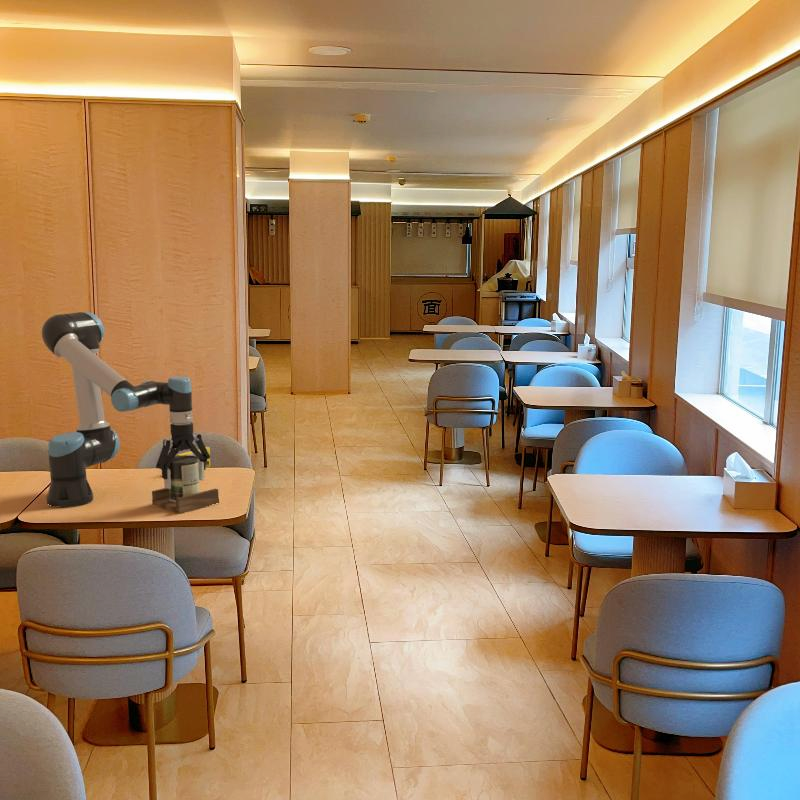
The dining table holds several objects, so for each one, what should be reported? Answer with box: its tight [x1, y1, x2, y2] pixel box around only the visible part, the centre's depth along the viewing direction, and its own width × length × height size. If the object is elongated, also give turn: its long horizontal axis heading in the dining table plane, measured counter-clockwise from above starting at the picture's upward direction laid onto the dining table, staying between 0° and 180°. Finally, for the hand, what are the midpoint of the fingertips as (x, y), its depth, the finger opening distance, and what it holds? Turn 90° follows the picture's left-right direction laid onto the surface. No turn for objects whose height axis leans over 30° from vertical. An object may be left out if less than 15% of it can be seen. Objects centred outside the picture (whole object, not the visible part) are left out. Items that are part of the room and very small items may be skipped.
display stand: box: [151, 487, 220, 515], centre depth 309 cm, size 16×16×5 cm
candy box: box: [176, 446, 211, 469], centre depth 355 cm, size 16×2×8 cm, turn 147°
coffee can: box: [168, 455, 201, 502], centre depth 308 cm, size 10×10×14 cm
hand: (184, 483), depth 308 cm, fingers open, 13 cm apart
